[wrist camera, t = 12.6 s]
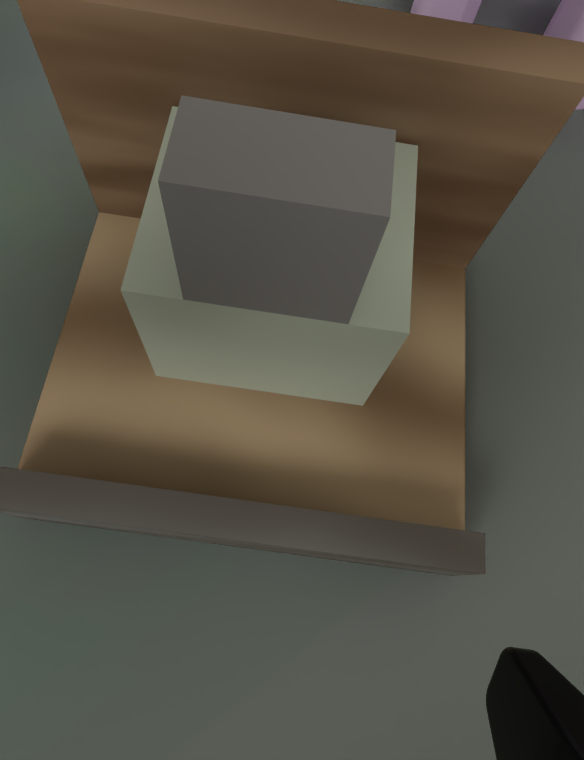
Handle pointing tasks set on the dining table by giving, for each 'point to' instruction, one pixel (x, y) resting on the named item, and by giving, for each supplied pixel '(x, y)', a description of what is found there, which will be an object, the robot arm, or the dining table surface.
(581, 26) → the clip
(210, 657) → the dining table surface
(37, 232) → the dining table surface
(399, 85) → the cleat board
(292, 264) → the sage cabinet
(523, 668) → the robot arm
